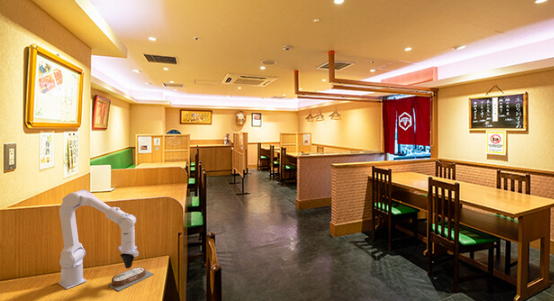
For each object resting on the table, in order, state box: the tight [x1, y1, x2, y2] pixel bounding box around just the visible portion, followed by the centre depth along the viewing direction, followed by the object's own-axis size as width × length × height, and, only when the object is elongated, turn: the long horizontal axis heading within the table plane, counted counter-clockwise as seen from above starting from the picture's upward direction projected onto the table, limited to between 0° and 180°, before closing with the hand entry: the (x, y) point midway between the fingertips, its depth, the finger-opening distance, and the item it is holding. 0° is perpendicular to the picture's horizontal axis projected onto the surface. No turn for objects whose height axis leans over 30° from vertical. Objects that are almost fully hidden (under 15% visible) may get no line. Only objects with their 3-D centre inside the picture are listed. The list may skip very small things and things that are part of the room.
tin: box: [110, 266, 147, 287], centre depth 122 cm, size 15×3×8 cm
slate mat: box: [107, 270, 155, 292], centre depth 122 cm, size 9×17×1 cm, turn 149°
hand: (128, 267), depth 124 cm, fingers closed
